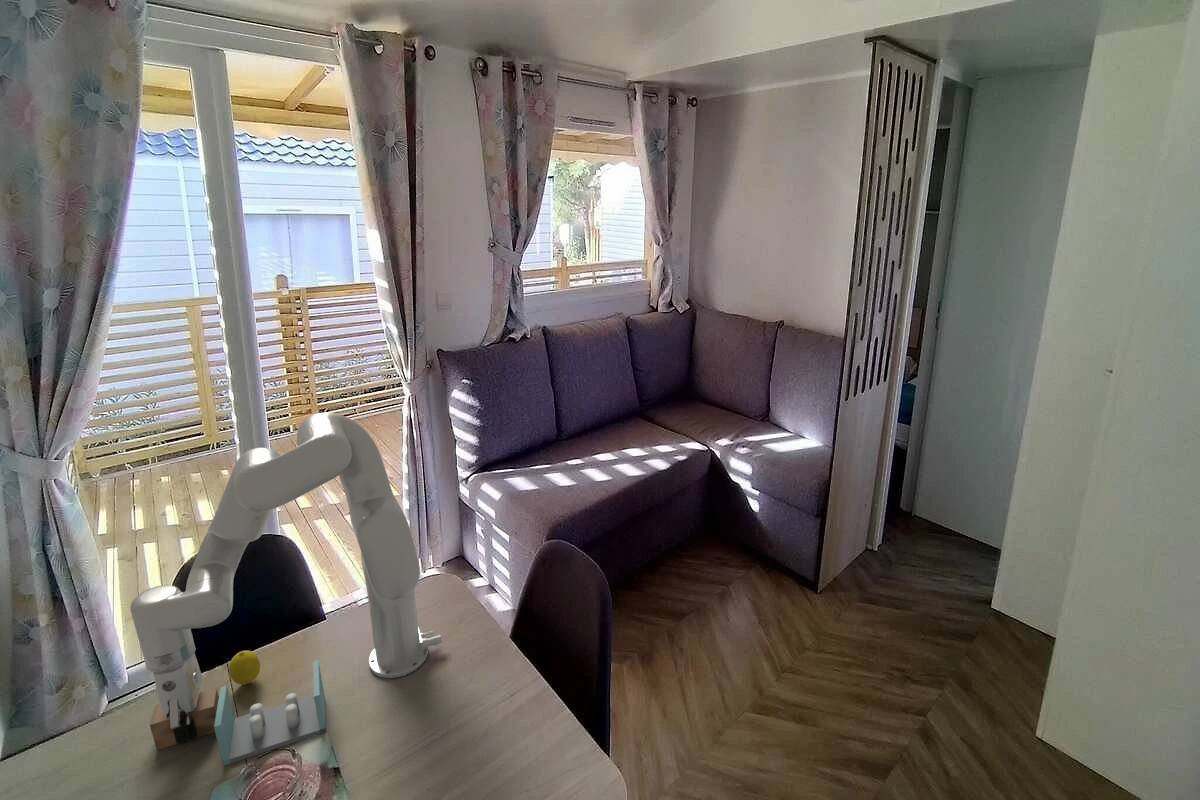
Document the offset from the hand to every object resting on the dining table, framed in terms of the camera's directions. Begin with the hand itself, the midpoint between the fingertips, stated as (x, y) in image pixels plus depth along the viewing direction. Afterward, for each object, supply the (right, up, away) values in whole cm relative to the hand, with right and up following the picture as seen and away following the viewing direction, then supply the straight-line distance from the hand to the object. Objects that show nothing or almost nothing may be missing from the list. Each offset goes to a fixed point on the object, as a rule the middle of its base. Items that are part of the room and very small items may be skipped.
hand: (189, 727), depth 114 cm
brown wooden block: (0, -1, 0) cm, 1 cm away
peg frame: (+17, -1, +1) cm, 17 cm away
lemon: (+4, +3, +12) cm, 13 cm away
